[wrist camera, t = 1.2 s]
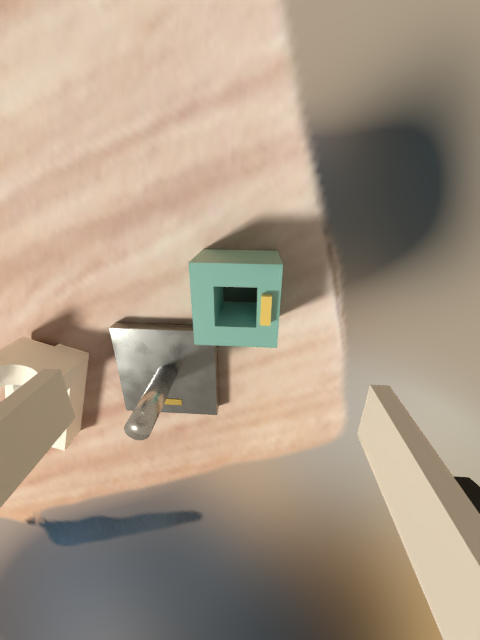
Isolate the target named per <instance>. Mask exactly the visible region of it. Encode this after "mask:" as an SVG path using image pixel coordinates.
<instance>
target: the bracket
mask: <svg viewBox="0 0 480 640" xmlns="http://www.w3.org/2000/svg"><path fill="white" fill-rule="evenodd" d="M88 360H89V353H88V352H84V351H81V350H78V349H75V348H72V347H68V346H65V345H62V344H58V345H56V346H52V345H48V344H45V343H42V342H39V341H35V340H32V339H29V338H26V337H22V338H20V339H19V340H17V341H15V342H13V343H12V344H10V345H8V346H7V347H5V348H3V349H1V350H0V386H5V398H7V397H8V396H9V395H11V394H12V393H13V392H14V391H16V390H17V389H18V388H20V387H21V386H22V385H23V384H25V383H26V382H27V381H28V380H30V379H31V378H32V377H34V376H35V375H36V374H37V373H39V372H40V371H41V370H42V369H61V372H62V376H63V379H64V382H65V385H66V389H67V392H68V395H69V398H70V402H71V405H72V408H73V411H74V415H75V419H74V420H73V422H72V423H71V424H70V425H69V426H68V428H67V429H66V430H65V431H64V432H63V434H62V435H61V436H60V437H59V438H58V440H57V441H56V442H55V443H54V444H53V445H52V447H53V448H57V449H60V450H64V451H65V450H66V449H67V447H68V446H69V445H70V443H71V442H72V441H73V439H74V438H75V437H76V436H77V434H78V433H79V432H80V430H81V422H82V413H83V405H84V396H85V387H86V378H87V369H88Z"/></svg>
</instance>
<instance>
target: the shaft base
mask: <svg viewBox="0 0 480 640" xmlns="http://www.w3.org/2000/svg"><path fill="white" fill-rule="evenodd" d="M109 330H110V334H111V339H112V344H113V349H114V353H115V358H116V363H117V367H118V372H119V377H120V382H121V386H122V391H123V396H124V400H125V405H126V410H132V411H133V413H132V414H131V416H130V418H129V419H128V421H127V423H126V424H125V427H124V430H125V433H126V434H127V435H128V436H129V437H131V438H132V439H135V440H145V439H147V438H148V437H149V435H150V433H151V431H152V429H153V427H154V425H155V422H156V420H157V418H158V416H159V414H160V412H170V413H190V414H209V415H217V413H218V408H219V395H218V363H217V345H194V332H193V325H184V324H155V323H125V322H116V323H115V324H113V325H112V326H111V327H110V328H109Z"/></svg>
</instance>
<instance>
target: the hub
mask: <svg viewBox="0 0 480 640" xmlns="http://www.w3.org/2000/svg"><path fill="white" fill-rule="evenodd" d="M282 273H283V263H282V260H281V258H280V255H279V252H278V250H228V249H203V250H202V251H201V252H200V253H199V254H198V255H196V256H195V257H194V258H193V259H192V260H191V261H190V262H189V274H190V289H191V303H192V317H193V332H194V345H217V346H243V347H269V348H277V340H278V327H279V313H280V300H281V286H282ZM223 287H253V288H257V302H235V301H223Z"/></svg>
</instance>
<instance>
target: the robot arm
mask: <svg viewBox="0 0 480 640" xmlns="http://www.w3.org/2000/svg"><path fill="white" fill-rule="evenodd" d="M74 419H75V415H74V411H73V408H72V405H71V402H70V398H69V395H68V392H67V389H66V385H65V382H64V379H63V376H62V372H61V369H42V370H41V371H40V372H39V373H37V374H36V375H35V376H34V377H32V378H31V379H30V380H28V381H27V382H26V383H25V384H23V385H22V386H21V387H20V388H18V389H17V390H16V391H14V392H13V393H12V394H11V395H9V396H8V397H7V398H5V399H4V400H3V401H2V402H0V507H1V506H2V505H3V504H4V503H5V501H6V500H7V499H8V498H9V497H10V496H11V494H12V493H13V492H14V491H15V490H16V488H17V487H18V486H19V485H20V484H21V482H22V481H23V480H24V479H25V478H26V476H27V475H28V474H29V473H30V472H31V470H32V469H33V468H34V467H35V466H36V465H37V463H38V462H39V461H40V460H41V459H42V457H43V456H44V455H45V454H46V453H47V451H48V450H49V449H50V448H51V447H52V445H53V444H54V443H55V442H56V441H57V440H58V438H59V437H60V436H61V435H62V434H63V432H64V431H65V430H66V429H67V428H68V426H69V425H70V424H71V423H72V422H73V420H74ZM357 435H358V438H359V440H360V442H361V445H362V447H363V450H364V452H365V454H366V456H367V459H368V462H369V464H370V466H371V469H372V471H373V473H374V475H375V478H376V481H377V483H378V485H379V488H380V490H381V492H382V495H383V497H384V500H385V502H386V504H387V507H388V509H389V511H390V514H391V516H392V518H393V521H394V523H395V526H396V528H397V531H398V533H399V535H400V537H401V540H402V542H403V545H404V547H405V550H406V552H407V554H408V557H409V559H410V561H411V564H412V566H413V569H414V571H415V573H416V576H417V578H418V581H419V583H420V585H421V588H422V590H423V592H424V595H425V597H426V599H427V602H428V604H429V607H430V609H431V611H432V614H433V616H434V619H435V621H436V623H437V626H438V628H439V631H440V633H441V635H442V637H443V640H480V487H479V486H478V485H477V484H476V483H475V482H474V481H472V480H471V479H470V478H467V477H453V475H452V474H451V473H450V471H449V470H448V468H447V467H446V465H445V464H444V463H443V461H442V460H441V459H440V457H439V456H438V454H437V453H436V451H435V450H434V449H433V447H432V446H431V444H430V443H429V441H428V440H427V438H426V437H425V436H424V434H423V433H422V431H421V430H420V429H419V427H418V426H417V424H416V423H415V421H414V420H413V419H412V417H411V416H410V414H409V413H408V411H407V410H406V409H405V407H404V406H403V404H402V403H401V402H400V400H399V399H398V397H397V396H396V395H395V393H394V392H393V390H392V389H391V387H390V386H385V385H370V387H369V392H368V395H367V399H366V403H365V407H364V411H363V414H362V418H361V422H360V426H359V430H358V434H357Z"/></svg>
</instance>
